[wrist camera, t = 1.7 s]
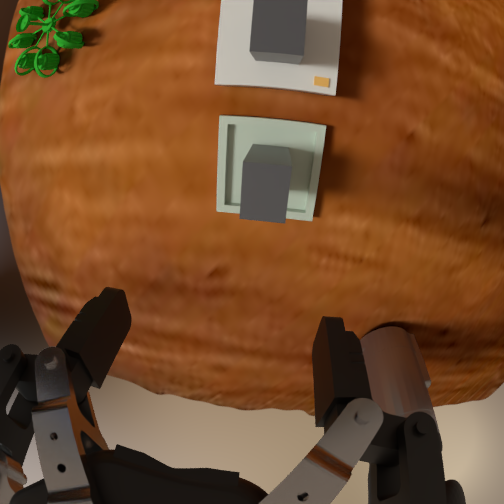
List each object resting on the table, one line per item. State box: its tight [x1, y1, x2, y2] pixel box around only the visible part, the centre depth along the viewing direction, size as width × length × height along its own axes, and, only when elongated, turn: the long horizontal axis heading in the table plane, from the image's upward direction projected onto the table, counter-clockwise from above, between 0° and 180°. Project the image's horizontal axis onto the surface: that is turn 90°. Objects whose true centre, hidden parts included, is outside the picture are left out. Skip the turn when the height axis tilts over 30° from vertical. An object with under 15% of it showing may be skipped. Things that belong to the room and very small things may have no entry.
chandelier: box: [9, 0, 99, 78], centre depth 16 cm, size 15×15×7 cm
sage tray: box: [217, 115, 326, 221], centre depth 27 cm, size 10×10×1 cm
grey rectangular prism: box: [240, 144, 292, 223], centre depth 24 cm, size 4×4×8 cm
